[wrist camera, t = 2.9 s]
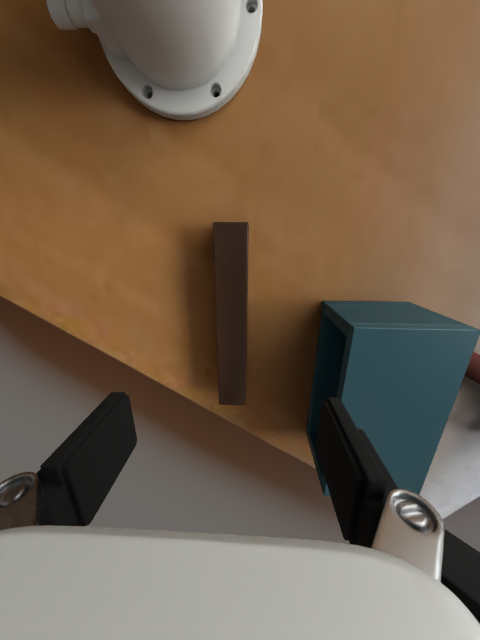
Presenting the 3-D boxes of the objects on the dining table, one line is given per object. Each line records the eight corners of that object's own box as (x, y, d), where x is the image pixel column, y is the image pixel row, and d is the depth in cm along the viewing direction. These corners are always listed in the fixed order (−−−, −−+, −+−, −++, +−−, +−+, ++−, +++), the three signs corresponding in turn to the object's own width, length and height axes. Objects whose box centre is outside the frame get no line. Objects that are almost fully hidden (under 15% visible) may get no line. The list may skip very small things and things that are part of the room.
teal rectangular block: (305, 432, 30) (323, 496, 23) (322, 300, 24) (354, 327, 17) (375, 435, 30) (417, 501, 22) (409, 301, 24) (481, 330, 16)
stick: (222, 388, 29) (219, 404, 26) (217, 224, 22) (213, 222, 20) (246, 389, 29) (245, 405, 26) (248, 224, 22) (248, 222, 19)
